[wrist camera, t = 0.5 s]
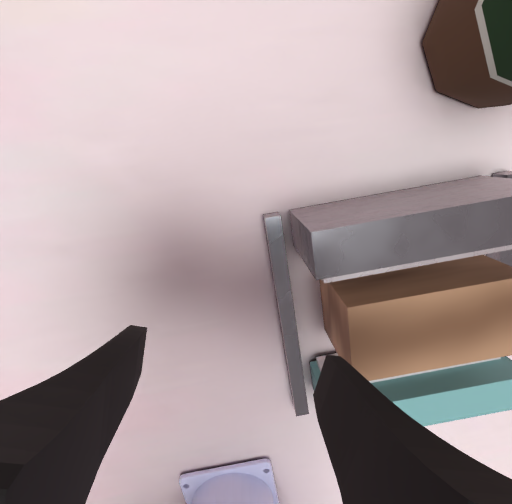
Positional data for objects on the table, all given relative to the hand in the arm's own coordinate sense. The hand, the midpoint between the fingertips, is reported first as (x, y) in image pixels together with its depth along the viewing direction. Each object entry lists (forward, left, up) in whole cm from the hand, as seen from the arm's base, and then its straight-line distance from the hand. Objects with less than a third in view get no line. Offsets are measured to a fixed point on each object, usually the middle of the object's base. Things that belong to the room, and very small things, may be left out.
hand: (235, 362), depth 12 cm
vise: (-5, -11, -10) cm, 16 cm away
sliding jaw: (-10, -11, -10) cm, 17 cm away
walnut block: (-3, -11, -10) cm, 15 cm away
